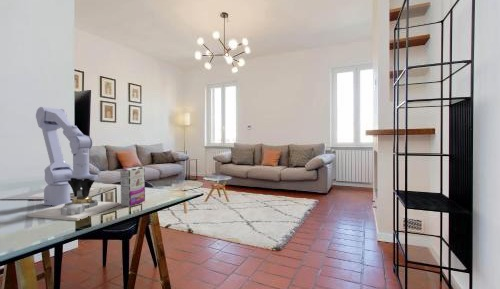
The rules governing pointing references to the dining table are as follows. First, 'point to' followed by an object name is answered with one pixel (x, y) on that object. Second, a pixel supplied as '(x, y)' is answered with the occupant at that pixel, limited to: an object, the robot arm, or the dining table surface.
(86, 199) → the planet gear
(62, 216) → the carrier plate
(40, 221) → the dining table surface
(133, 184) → the candy bar box
